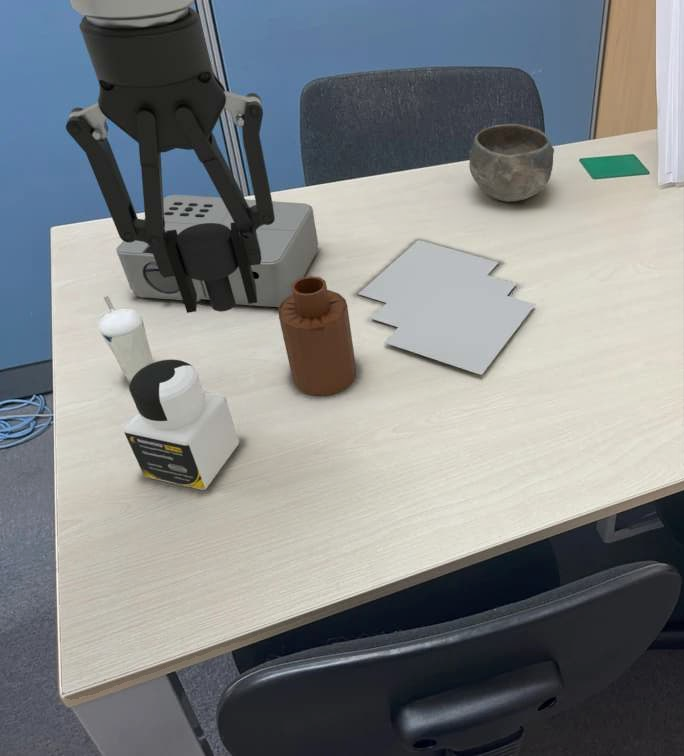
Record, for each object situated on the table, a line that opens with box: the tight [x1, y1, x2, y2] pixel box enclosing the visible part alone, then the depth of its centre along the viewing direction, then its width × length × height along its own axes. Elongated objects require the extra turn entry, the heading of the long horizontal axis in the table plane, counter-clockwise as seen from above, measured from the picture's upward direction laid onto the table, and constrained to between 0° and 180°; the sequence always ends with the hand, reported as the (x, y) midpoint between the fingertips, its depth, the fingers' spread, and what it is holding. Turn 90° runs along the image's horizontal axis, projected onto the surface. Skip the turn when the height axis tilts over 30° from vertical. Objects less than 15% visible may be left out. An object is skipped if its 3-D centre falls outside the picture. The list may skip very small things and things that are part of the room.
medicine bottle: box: [123, 358, 240, 491], centre depth 71 cm, size 7×7×12 cm
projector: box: [116, 194, 319, 309], centre depth 100 cm, size 17×22×8 cm
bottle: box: [277, 275, 357, 397], centre depth 82 cm, size 8×8×13 cm
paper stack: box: [358, 239, 536, 376], centre depth 98 cm, size 23×25×1 cm
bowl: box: [468, 123, 555, 203], centre depth 121 cm, size 14×15×10 cm
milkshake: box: [97, 294, 155, 384], centre depth 82 cm, size 4×5×10 cm
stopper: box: [176, 223, 238, 312], centre depth 61 cm, size 4×4×7 cm
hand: (222, 298), depth 63 cm, fingers closed on stopper, 4 cm apart
